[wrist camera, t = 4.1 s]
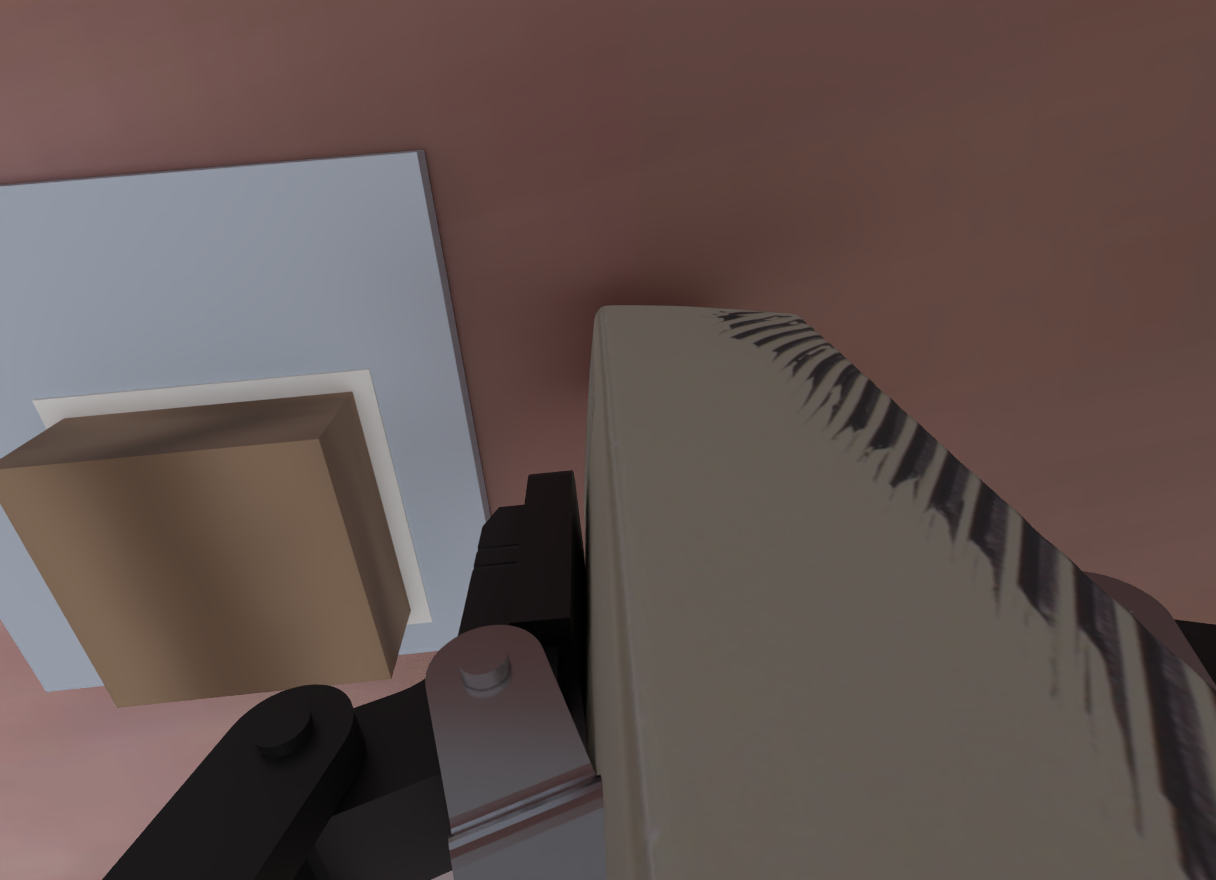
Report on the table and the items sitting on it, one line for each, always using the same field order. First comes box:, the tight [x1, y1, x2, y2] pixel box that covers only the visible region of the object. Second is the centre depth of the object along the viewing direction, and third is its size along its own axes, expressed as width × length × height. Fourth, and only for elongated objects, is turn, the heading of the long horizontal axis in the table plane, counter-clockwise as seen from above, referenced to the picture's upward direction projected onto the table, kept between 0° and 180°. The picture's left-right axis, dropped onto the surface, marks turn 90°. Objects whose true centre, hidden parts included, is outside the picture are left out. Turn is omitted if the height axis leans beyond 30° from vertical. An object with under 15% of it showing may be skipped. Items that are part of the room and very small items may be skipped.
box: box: [584, 305, 1216, 880], centre depth 9 cm, size 5×4×13 cm
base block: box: [0, 392, 411, 708], centre depth 19 cm, size 8×8×3 cm
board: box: [0, 150, 491, 692], centre depth 20 cm, size 16×16×1 cm
